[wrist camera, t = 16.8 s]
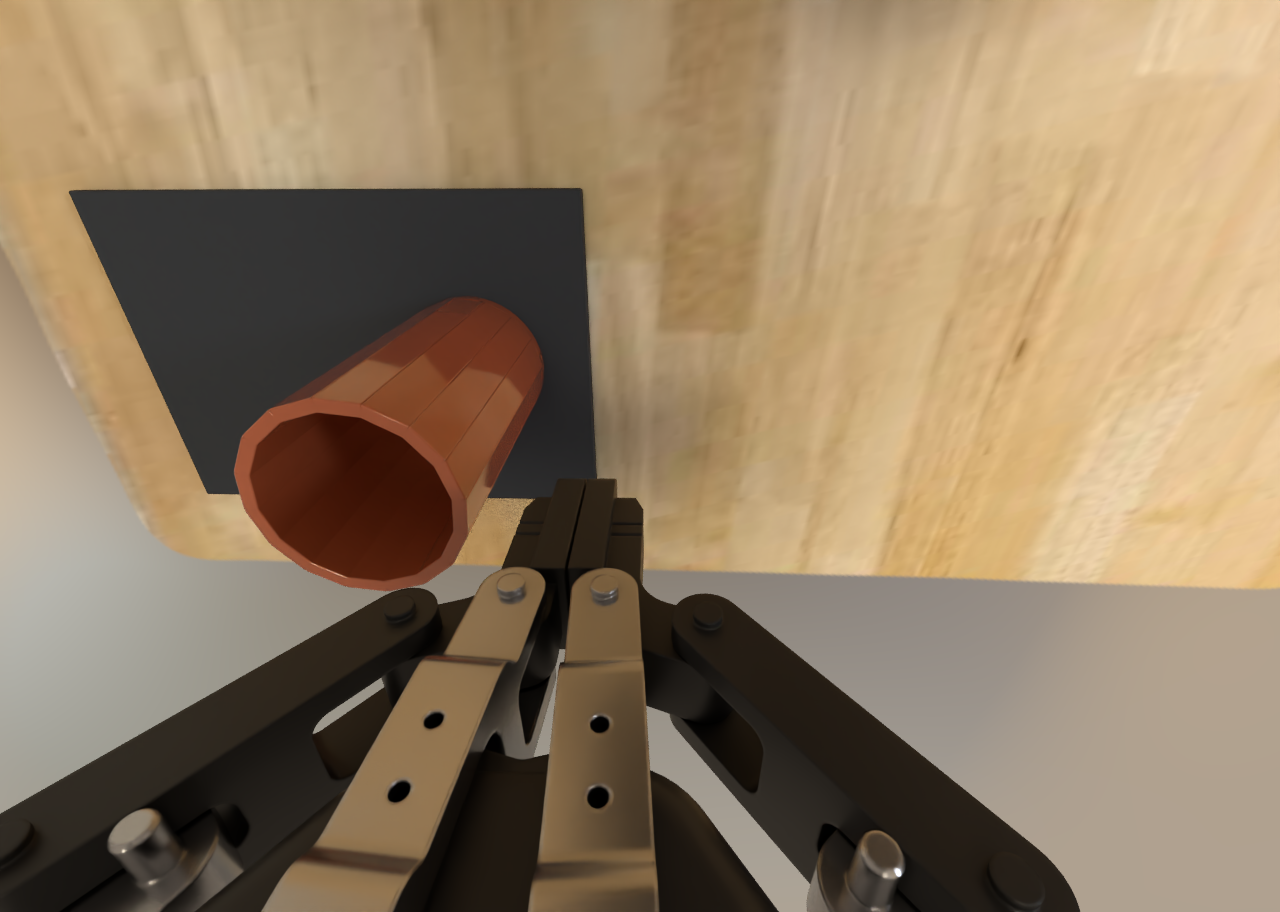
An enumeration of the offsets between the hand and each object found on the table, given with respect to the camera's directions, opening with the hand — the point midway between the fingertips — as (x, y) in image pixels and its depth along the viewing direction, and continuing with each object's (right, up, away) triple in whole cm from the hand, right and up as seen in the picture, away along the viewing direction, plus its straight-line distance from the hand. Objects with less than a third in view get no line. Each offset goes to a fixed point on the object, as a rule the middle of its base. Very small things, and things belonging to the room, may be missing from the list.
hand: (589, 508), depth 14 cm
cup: (-6, +5, +10) cm, 13 cm away
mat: (-11, +6, +10) cm, 16 cm away
